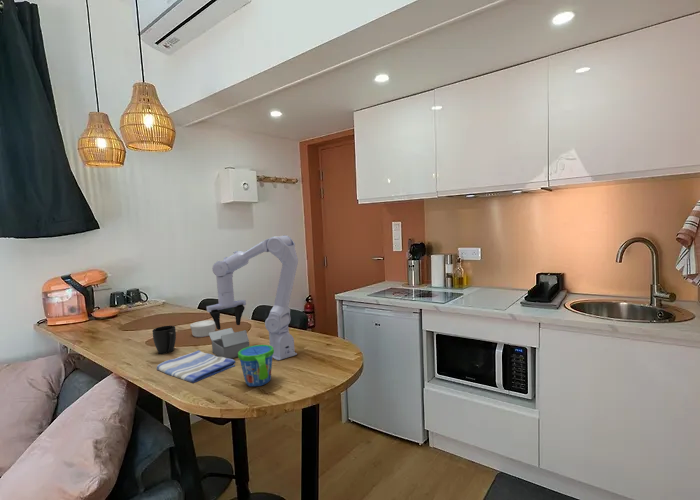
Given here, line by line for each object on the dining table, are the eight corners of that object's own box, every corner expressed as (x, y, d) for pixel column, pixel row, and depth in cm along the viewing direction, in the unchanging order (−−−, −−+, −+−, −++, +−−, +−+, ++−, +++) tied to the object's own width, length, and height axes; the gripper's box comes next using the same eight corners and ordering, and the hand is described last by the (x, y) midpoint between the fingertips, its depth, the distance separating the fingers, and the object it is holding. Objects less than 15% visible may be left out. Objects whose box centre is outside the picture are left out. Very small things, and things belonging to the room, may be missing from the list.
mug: (162, 358, 139) (160, 334, 138) (151, 352, 148) (149, 329, 147) (184, 352, 145) (182, 328, 144) (172, 346, 153) (170, 324, 153)
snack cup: (238, 376, 118) (235, 345, 117) (271, 370, 122) (269, 340, 121) (242, 396, 104) (240, 361, 103) (280, 388, 107) (277, 354, 107)
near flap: (248, 341, 139) (249, 340, 139) (224, 347, 133) (224, 347, 133) (245, 330, 140) (245, 329, 140) (220, 336, 134) (221, 335, 134)
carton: (250, 353, 140) (249, 341, 139) (224, 360, 133) (223, 348, 133) (237, 346, 149) (236, 335, 149) (212, 353, 143) (211, 341, 142)
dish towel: (200, 355, 142) (199, 348, 142) (238, 366, 128) (237, 358, 128) (154, 371, 128) (153, 363, 128) (191, 385, 114) (191, 377, 114)
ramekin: (218, 335, 167) (217, 323, 167) (191, 339, 162) (190, 328, 162) (215, 329, 177) (214, 318, 177) (190, 333, 173) (189, 322, 172)
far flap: (231, 327, 151) (231, 328, 152) (208, 332, 145) (208, 333, 146) (235, 334, 149) (235, 335, 149) (212, 340, 143) (212, 341, 143)
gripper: (239, 287, 148) (242, 321, 149) (202, 293, 139) (205, 329, 139) (247, 289, 142) (249, 324, 143) (209, 295, 133) (212, 332, 134)
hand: (228, 326), depth 141 cm, fingers open, 7 cm apart
